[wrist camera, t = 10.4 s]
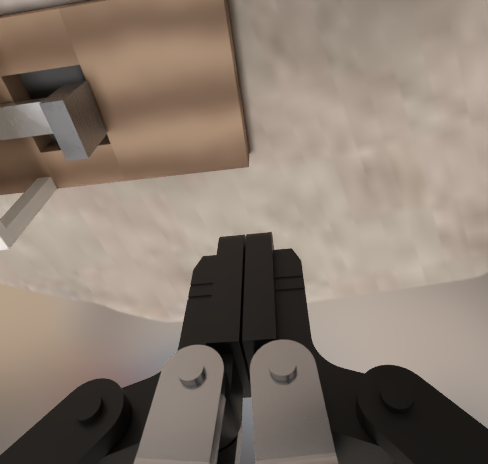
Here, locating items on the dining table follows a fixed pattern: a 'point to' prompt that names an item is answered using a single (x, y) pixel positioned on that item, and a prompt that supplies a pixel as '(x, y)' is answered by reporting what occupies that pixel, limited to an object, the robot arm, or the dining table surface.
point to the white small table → (24, 211)
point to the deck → (127, 89)
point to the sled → (58, 120)
